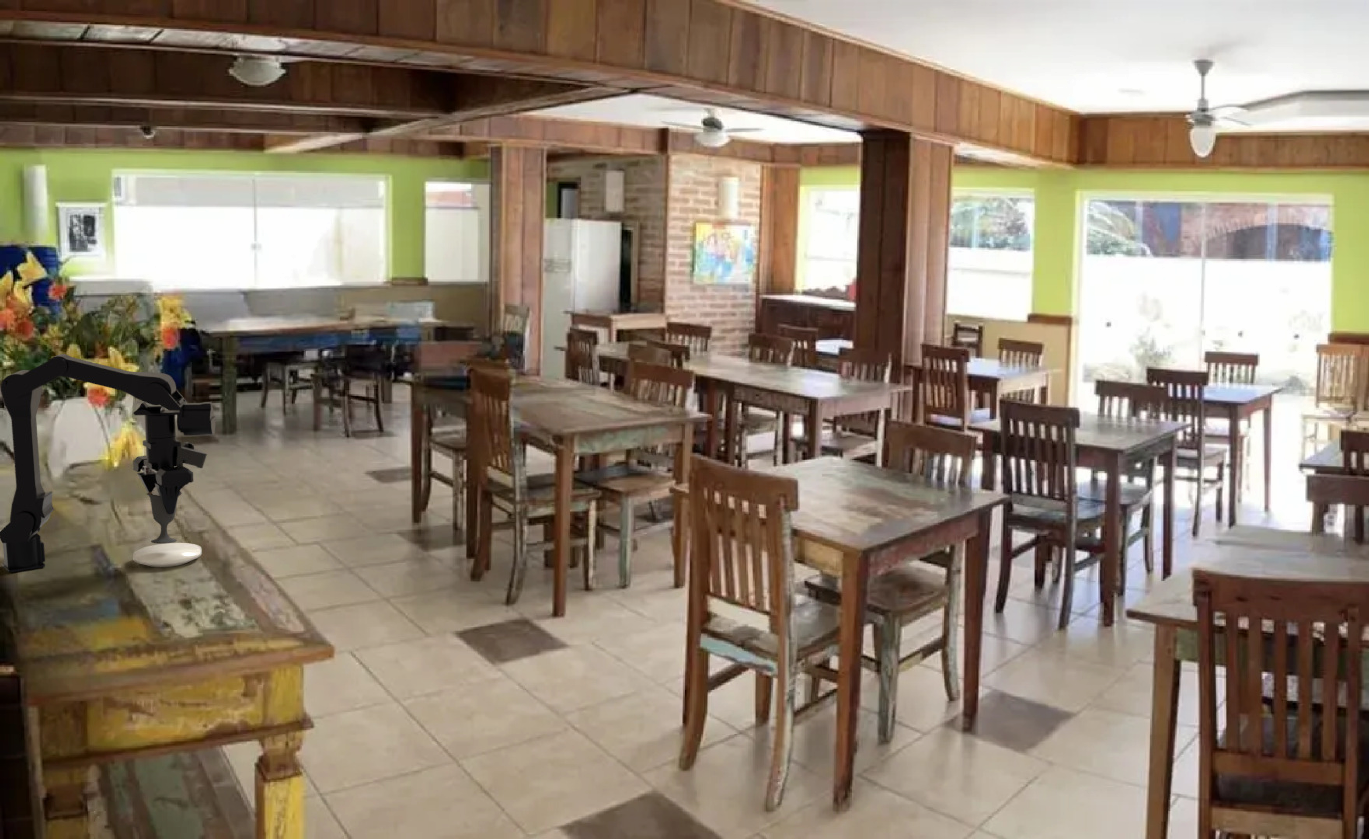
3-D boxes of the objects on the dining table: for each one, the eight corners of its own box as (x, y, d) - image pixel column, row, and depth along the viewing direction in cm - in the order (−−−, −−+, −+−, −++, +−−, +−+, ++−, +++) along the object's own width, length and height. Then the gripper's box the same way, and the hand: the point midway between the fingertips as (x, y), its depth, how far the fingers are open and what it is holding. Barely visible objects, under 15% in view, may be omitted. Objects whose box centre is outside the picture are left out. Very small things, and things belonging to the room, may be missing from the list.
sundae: (155, 545, 241) (155, 472, 240) (140, 540, 246) (140, 468, 244) (187, 542, 246) (187, 469, 245) (172, 537, 251) (172, 466, 249)
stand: (145, 573, 239) (145, 564, 239) (125, 559, 249) (124, 549, 248) (211, 562, 247) (210, 553, 247) (188, 548, 257) (188, 539, 257)
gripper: (217, 439, 242) (220, 514, 245) (185, 425, 256) (188, 496, 258) (160, 445, 235) (164, 522, 237) (130, 430, 248) (134, 503, 251)
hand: (164, 510), depth 246 cm, fingers closed on sundae, 7 cm apart
